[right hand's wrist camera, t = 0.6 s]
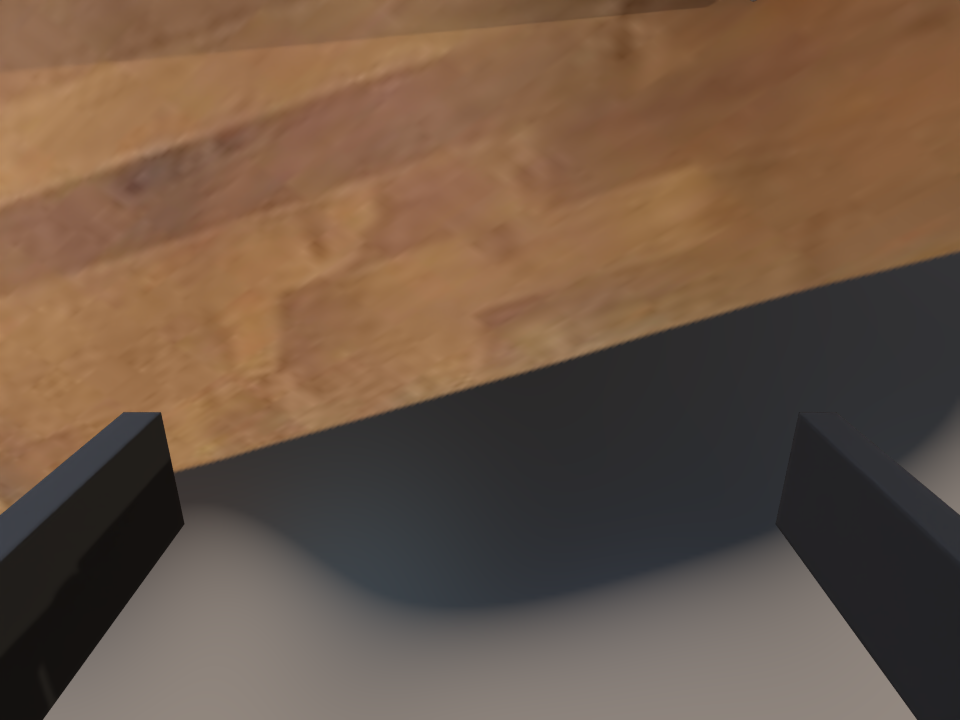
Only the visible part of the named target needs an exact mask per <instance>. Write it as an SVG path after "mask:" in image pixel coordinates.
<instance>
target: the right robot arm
mask: <svg viewBox="0 0 960 720" xmlns="http://www.w3.org/2000/svg"><path fill="white" fill-rule="evenodd" d="M183 525H184V520H183V515H182V510H181V506H180V501H179V496H178V491H177V487H176V482H175V477H174V472H173V468H172V463H171V458H170V453H169V448H168V444H167V439H166V434H165V429H164V425H163V420H162V415H161V412H123V413H122V414H121V415H120V416H119V417H117V418H116V419H115V420H114V421H113V422H111V423H110V424H109V425H108V426H107V427H105V428H104V429H103V430H102V431H101V432H99V433H98V434H97V435H96V436H95V437H93V438H92V439H91V440H90V441H89V442H87V443H86V444H85V445H84V446H83V447H81V448H80V449H79V450H78V451H77V452H75V453H74V454H73V455H72V456H71V457H69V458H68V459H67V460H66V461H65V462H63V463H62V464H61V465H60V466H59V467H57V468H56V469H55V470H54V471H53V472H51V473H50V474H49V475H48V476H47V477H45V478H44V479H43V480H42V481H41V482H39V483H38V484H37V485H36V486H35V487H33V488H32V489H31V490H30V491H29V492H27V493H26V494H25V495H24V496H23V497H21V498H20V499H19V500H18V501H17V502H15V503H14V504H13V505H12V506H11V507H9V508H8V509H7V510H6V511H5V512H3V513H2V514H1V515H0V720H43V719H44V717H45V716H46V715H47V713H48V712H49V710H50V709H51V708H52V706H53V705H54V703H55V702H56V701H57V699H58V698H59V697H60V695H61V694H62V692H63V691H64V690H65V688H66V687H67V685H68V684H69V683H70V681H71V680H72V679H73V677H74V676H75V674H76V673H77V672H78V670H79V669H80V668H81V666H82V665H83V663H84V662H85V661H86V659H87V658H88V656H89V655H90V654H91V652H92V651H93V650H94V648H95V647H96V645H97V644H98V643H99V641H100V640H101V639H102V637H103V636H104V634H105V633H106V632H107V630H108V629H109V628H110V626H111V625H112V623H113V622H114V621H115V619H116V618H117V616H118V615H119V614H120V612H121V611H122V609H123V608H124V607H125V605H126V604H127V603H128V601H129V600H130V598H131V597H132V596H133V594H134V593H135V592H136V590H137V589H138V587H139V586H140V585H141V583H142V582H143V581H144V579H145V578H146V576H147V575H148V574H149V572H150V571H151V569H152V568H153V567H154V565H155V564H156V563H157V561H158V560H159V558H160V557H161V556H162V554H163V553H164V552H165V550H166V549H167V547H168V546H169V545H170V543H171V542H172V540H173V539H174V538H175V536H176V535H177V534H178V532H179V531H180V529H181V528H182V527H183ZM776 525H777V527H778V528H779V529H780V531H781V532H782V534H783V535H784V536H785V538H786V539H787V540H788V542H789V543H790V545H791V546H792V547H793V549H794V550H795V552H796V553H797V554H798V556H799V557H800V558H801V560H802V561H803V563H804V564H805V565H806V567H807V568H808V569H809V571H810V572H811V574H812V575H813V576H814V578H815V579H816V581H817V582H818V583H819V585H820V586H821V587H822V589H823V590H824V592H825V593H826V594H827V596H828V597H829V598H830V600H831V601H832V603H833V604H834V605H835V607H836V608H837V609H838V611H839V612H840V614H841V615H842V616H843V618H844V619H845V621H846V622H847V623H848V625H849V626H850V628H851V629H852V630H853V632H854V633H855V634H856V636H857V637H858V639H859V640H860V641H861V643H862V644H863V645H864V647H865V648H866V650H867V651H868V652H869V654H870V655H871V657H872V658H873V659H874V661H875V662H876V663H877V665H878V666H879V668H880V669H881V670H882V672H883V673H884V674H885V676H886V677H887V679H888V680H889V681H890V683H891V684H892V686H893V687H894V688H895V690H896V691H897V692H898V694H899V695H900V697H901V698H902V699H903V701H904V702H905V703H906V705H907V706H908V708H909V709H910V710H911V712H912V713H913V715H914V716H915V717H916V719H917V720H960V515H959V514H958V513H957V512H955V511H954V510H953V509H952V508H951V507H949V506H948V505H947V504H946V503H945V502H943V501H942V500H941V499H940V498H938V497H937V496H936V495H935V494H934V493H933V492H931V491H930V490H929V489H928V488H927V487H925V486H924V485H923V484H922V483H920V482H919V481H918V480H917V479H916V478H915V477H913V476H912V475H911V474H910V473H909V472H907V471H906V470H905V469H904V468H902V467H901V466H900V465H899V464H898V463H896V462H895V461H894V460H893V459H892V458H891V457H889V456H888V455H887V454H886V453H885V452H883V451H882V450H881V449H880V448H879V447H877V446H876V445H875V444H874V443H873V442H871V441H870V440H869V439H868V438H867V437H865V436H864V435H863V434H862V433H861V432H859V431H858V430H857V429H856V428H854V427H853V426H852V425H851V424H850V423H849V422H847V421H846V420H845V419H844V418H843V417H841V416H840V415H839V414H838V413H836V412H799V415H798V420H797V425H796V430H795V434H794V439H793V444H792V449H791V453H790V458H789V463H788V468H787V472H786V477H785V482H784V487H783V491H782V496H781V501H780V506H779V510H778V515H777V520H776Z"/></svg>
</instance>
